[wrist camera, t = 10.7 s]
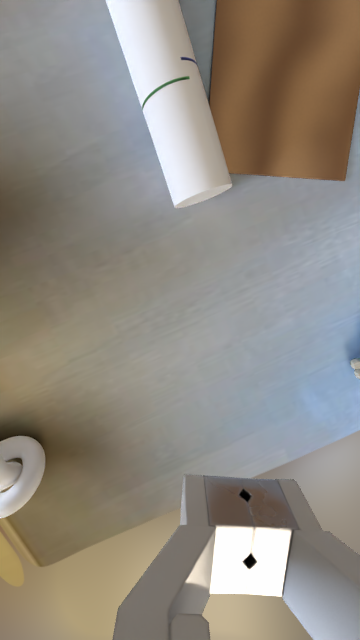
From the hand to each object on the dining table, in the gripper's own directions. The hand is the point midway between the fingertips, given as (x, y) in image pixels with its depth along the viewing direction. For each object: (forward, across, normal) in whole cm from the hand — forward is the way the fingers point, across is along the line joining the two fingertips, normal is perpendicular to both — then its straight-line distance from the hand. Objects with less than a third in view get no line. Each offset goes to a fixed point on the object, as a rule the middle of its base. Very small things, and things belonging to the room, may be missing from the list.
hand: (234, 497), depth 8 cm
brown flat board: (+35, -10, -32) cm, 48 cm away
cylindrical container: (+32, -1, -13) cm, 34 cm away
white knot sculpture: (+35, +25, +25) cm, 50 cm away
